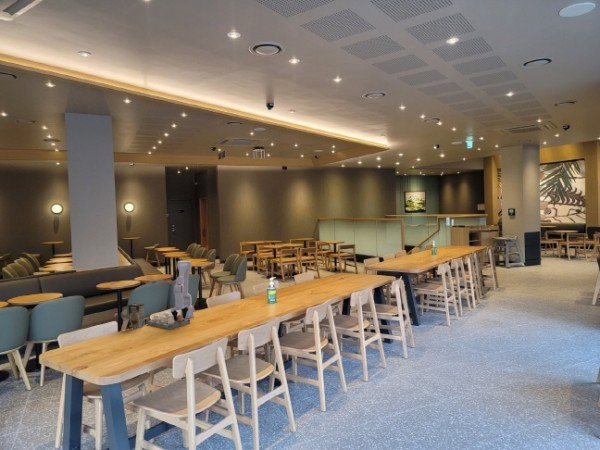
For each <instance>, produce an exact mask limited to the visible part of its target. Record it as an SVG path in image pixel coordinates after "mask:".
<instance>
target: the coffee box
mask: <svg viewBox="0 0 600 450" xmlns="http://www.w3.org/2000/svg"><path fill="white" fill-rule="evenodd" d="M145 320H146V319H145V303H136V302H134V303H131V304H128V325H129V328H137V327H138V328H139V329H140V328H142V327H145V326H146V323H145V322H146V321H145ZM138 328H137V329H138Z"/></svg>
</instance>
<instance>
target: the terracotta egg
mask: <svg viewBox="0 0 600 450" xmlns="http://www.w3.org/2000/svg"><path fill="white" fill-rule="evenodd" d="M182 321H183V316H182V315H181V314H177V322H182Z"/></svg>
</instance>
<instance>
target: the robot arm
mask: <svg viewBox="0 0 600 450" xmlns="http://www.w3.org/2000/svg"><path fill="white" fill-rule="evenodd" d="M176 266H177V270H178V272H179V273H178V276H177V277H176V280H175V281H176V282H175V285H174V286H173V294H174V298H175V299H174V301H175V306H174V307H173V308H170V313H171V315H172V316H173V317H174V321H177V316H178V315H179V313H180V315H182V316H183V319H191V318H193V317H195V315H194V306H193V300H192V294H190V293H189V275H190V272H192V261H191V260H178V261H177V265H176ZM178 311H180V312H178Z"/></svg>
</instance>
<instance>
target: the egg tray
mask: <svg viewBox="0 0 600 450" xmlns="http://www.w3.org/2000/svg"><path fill="white" fill-rule="evenodd" d="M189 324H191V320H190V319H189V318H187V319H183V321H182V322H177V321H174V317H173V315H172V316H171V315H170V313H169V312H168V311H165V312H163V314H162V316H160V314H158V313H157V314H156V313H155V315H154V316H153V319H149V320H147V321H146V325H149V326H152V327H158V328H161V329H166V330H173V329H176V328H179V327H182V326H183V327H184V326H186V325H189Z"/></svg>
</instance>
